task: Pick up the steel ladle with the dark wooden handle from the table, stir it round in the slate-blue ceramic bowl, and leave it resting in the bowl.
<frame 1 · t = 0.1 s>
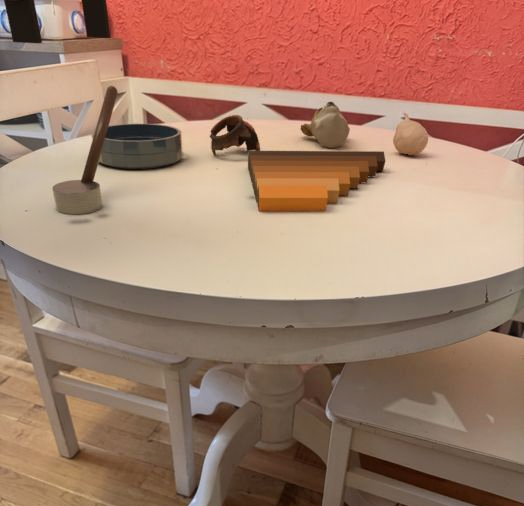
hand: (66, 40, 54), 21 cm above the table, tool pointing down, fingers open, 13 cm apart
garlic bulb: (407, 155, 105), on the table
bowl: (140, 159, 96), on the table
pan flute: (326, 188, 84), on the table
ceramic sculpture: (326, 143, 112), on the table
brown hollow curved piece: (236, 154, 102), on the table
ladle: (79, 206, 72), on the table
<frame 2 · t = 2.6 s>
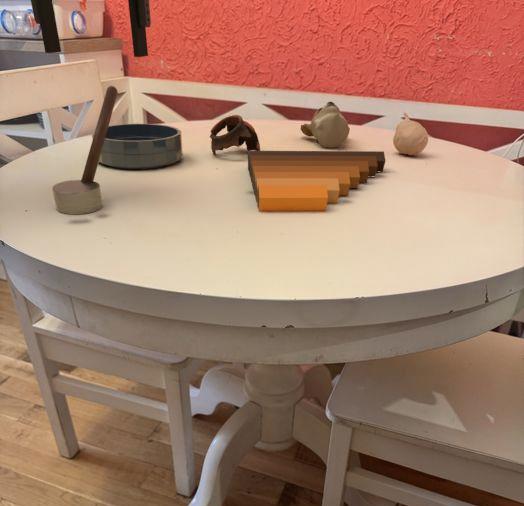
hand: (96, 54, 70), 19 cm above the table, tool pointing down, fingers open, 13 cm apart
nothing on the table moved.
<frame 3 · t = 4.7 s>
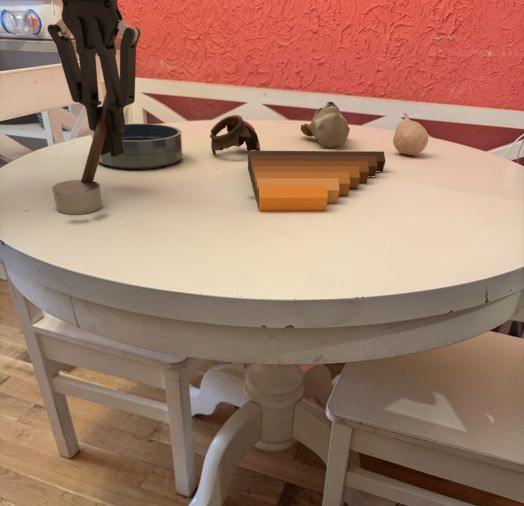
hand: (110, 153, 78), 5 cm above the table, tool pointing down, fingers closed on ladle, 2 cm apart
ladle: (79, 206, 72), on the table, touching gripper
everything else where it was.
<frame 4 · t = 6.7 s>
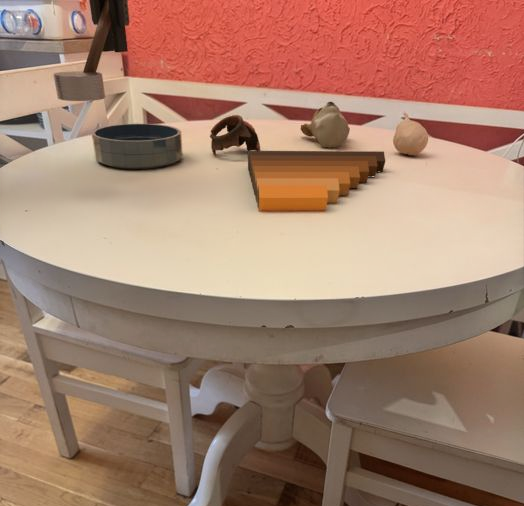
hand: (114, 51, 76), 19 cm above the table, tool pointing down, fingers closed on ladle, 2 cm apart
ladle: (81, 97, 70), point 13 cm above the table, touching gripper
everything else where it was.
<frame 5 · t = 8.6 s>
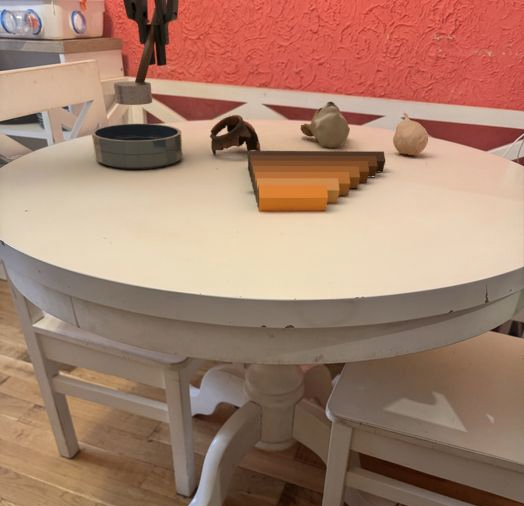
hand: (156, 64, 96), 15 cm above the table, tool pointing down, fingers closed on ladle, 2 cm apart
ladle: (134, 102, 90), point 10 cm above the table, touching gripper
everything else where it was.
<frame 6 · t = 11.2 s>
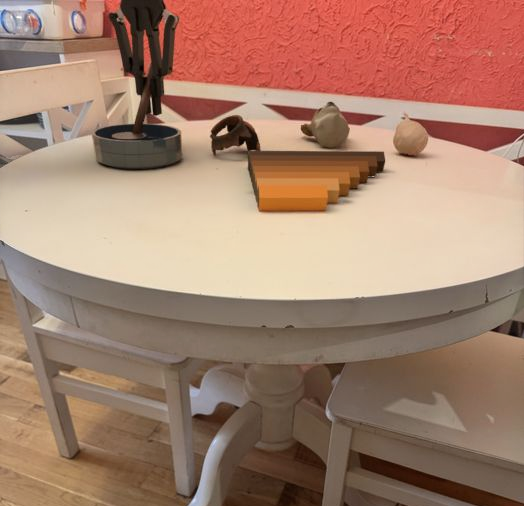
hand: (152, 113, 101), 6 cm above the table, tool pointing down, fingers closed on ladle, 2 cm apart
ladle: (131, 152, 95), point 1 cm above the table, touching gripper
everything else where it was.
when the fingers open (6 cm above the table, at t = 12.5 s): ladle stays where it is, resting on bowl.
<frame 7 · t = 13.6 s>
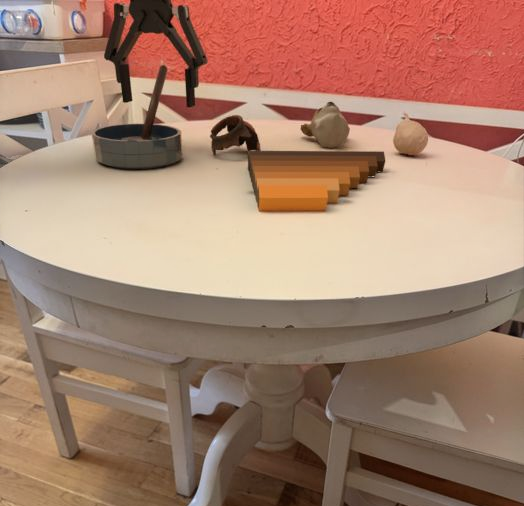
hand: (159, 104, 100), 8 cm above the table, tool pointing down, fingers open, 13 cm apart
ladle: (140, 156, 95), point 1 cm above the table, touching bowl
everything else where it was.
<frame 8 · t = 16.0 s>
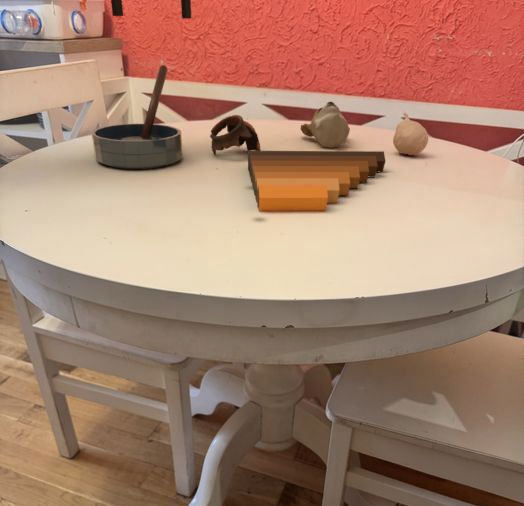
hand: (152, 17, 92), 23 cm above the table, tool pointing down, fingers open, 13 cm apart
nothing on the table moved.
at the end: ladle inside the target area in the bowl (0.0 cm from its centre), point 0.6 cm above the bowl's base; the gripper is holding nothing; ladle moved 28.3 cm from its start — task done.
